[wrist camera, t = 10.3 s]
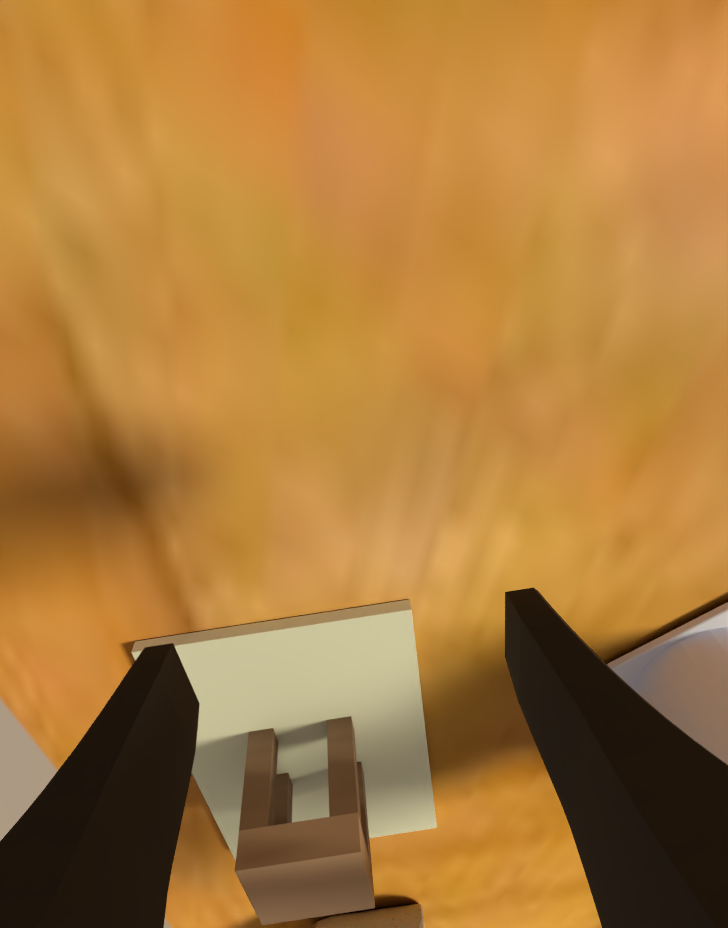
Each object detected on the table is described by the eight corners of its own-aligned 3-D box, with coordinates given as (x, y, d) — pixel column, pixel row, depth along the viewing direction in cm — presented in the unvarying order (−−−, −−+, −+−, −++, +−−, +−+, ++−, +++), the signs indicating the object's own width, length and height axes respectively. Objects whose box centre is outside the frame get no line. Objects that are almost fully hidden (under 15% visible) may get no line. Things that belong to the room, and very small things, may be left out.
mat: (434, 817, 34) (436, 827, 34) (235, 847, 34) (234, 859, 34) (409, 599, 25) (411, 609, 24) (135, 641, 25) (131, 652, 24)
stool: (363, 774, 30) (375, 907, 25) (270, 788, 30) (262, 925, 25) (351, 716, 28) (360, 851, 22) (248, 731, 28) (234, 871, 22)
